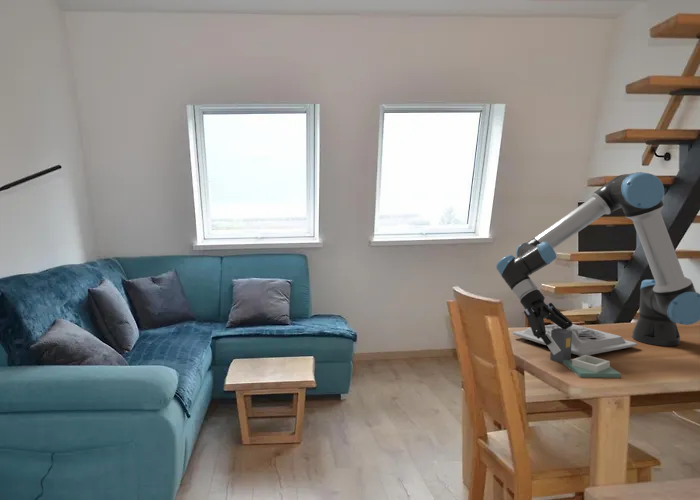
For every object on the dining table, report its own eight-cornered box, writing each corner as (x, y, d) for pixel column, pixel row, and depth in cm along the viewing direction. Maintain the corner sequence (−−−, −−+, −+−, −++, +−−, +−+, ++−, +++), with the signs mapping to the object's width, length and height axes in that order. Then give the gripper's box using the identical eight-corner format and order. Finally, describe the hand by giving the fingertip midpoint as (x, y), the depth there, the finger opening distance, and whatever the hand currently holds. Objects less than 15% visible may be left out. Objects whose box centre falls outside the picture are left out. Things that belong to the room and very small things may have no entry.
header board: (600, 363, 154) (601, 354, 154) (620, 377, 142) (621, 367, 142) (562, 363, 154) (563, 353, 154) (579, 377, 142) (580, 366, 142)
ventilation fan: (565, 314, 195) (638, 331, 169) (564, 329, 196) (637, 349, 169) (512, 321, 181) (582, 341, 155) (511, 337, 182) (581, 360, 155)
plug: (557, 357, 161) (559, 328, 160) (571, 360, 157) (572, 331, 156) (550, 359, 158) (551, 330, 157) (563, 363, 154) (564, 333, 153)
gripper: (542, 297, 175) (580, 348, 164) (499, 305, 161) (538, 362, 150) (556, 285, 170) (596, 336, 159) (514, 292, 156) (555, 350, 145)
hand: (568, 349), depth 155 cm, fingers open, 12 cm apart
